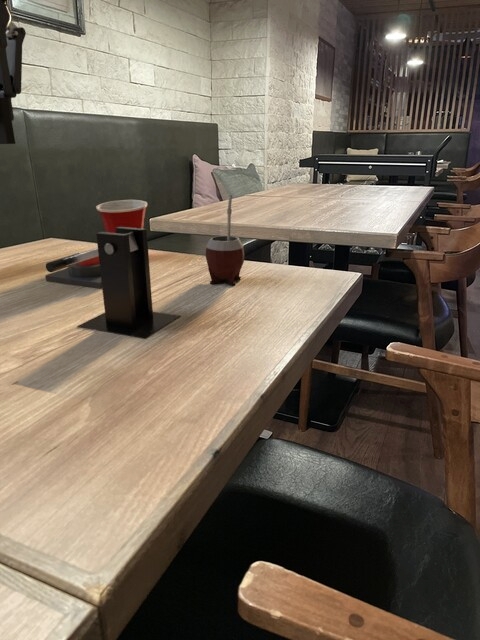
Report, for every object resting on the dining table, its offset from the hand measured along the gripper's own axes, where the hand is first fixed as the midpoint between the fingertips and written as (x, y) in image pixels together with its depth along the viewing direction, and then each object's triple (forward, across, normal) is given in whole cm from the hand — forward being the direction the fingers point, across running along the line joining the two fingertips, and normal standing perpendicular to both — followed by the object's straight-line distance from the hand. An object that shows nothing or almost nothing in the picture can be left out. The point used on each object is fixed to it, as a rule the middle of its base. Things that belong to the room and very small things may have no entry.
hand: (5, 143), depth 76 cm
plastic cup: (+25, +28, 0) cm, 37 cm away
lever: (+15, -7, -22) cm, 27 cm away
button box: (+24, +9, -6) cm, 27 cm away
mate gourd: (+25, +20, -28) cm, 42 cm away
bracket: (+24, -7, -26) cm, 36 cm away
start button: (+21, +9, -6) cm, 23 cm away
